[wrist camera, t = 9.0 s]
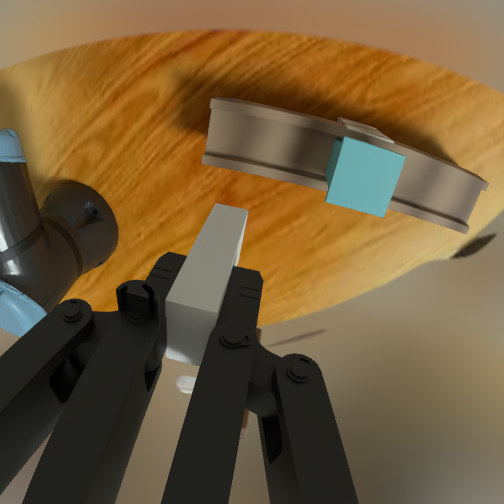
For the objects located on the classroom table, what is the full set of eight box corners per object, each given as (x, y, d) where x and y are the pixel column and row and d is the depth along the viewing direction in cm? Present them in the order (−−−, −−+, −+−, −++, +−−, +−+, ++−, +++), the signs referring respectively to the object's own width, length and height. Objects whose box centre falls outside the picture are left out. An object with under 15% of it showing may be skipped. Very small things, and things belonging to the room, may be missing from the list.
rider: (321, 184, 32) (325, 201, 28) (337, 127, 29) (344, 136, 25) (373, 198, 32) (383, 217, 28) (392, 144, 29) (406, 156, 25)
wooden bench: (218, 147, 39) (201, 165, 32) (227, 91, 34) (211, 96, 28) (442, 207, 38) (465, 235, 32) (460, 161, 34) (489, 182, 28)
